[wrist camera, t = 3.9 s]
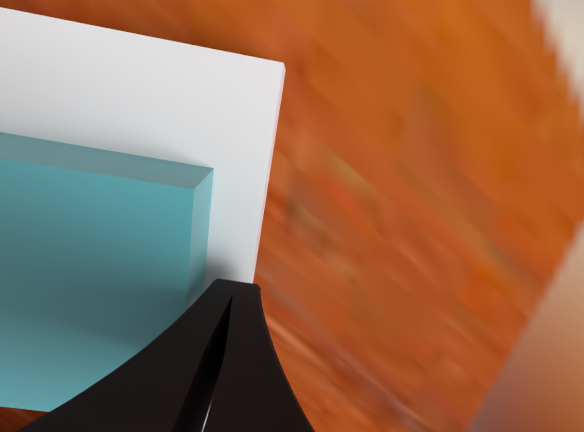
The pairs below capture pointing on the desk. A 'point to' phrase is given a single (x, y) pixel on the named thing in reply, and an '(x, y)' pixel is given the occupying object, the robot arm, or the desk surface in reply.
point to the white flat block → (151, 113)
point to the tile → (91, 262)
